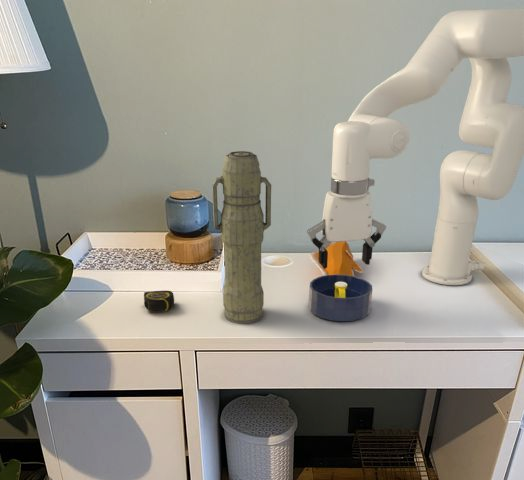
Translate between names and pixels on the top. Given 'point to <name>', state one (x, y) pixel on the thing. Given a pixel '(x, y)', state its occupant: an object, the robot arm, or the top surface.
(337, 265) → the fish
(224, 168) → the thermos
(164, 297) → the tape measure
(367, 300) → the navy bowl
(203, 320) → the top surface
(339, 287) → the watch
